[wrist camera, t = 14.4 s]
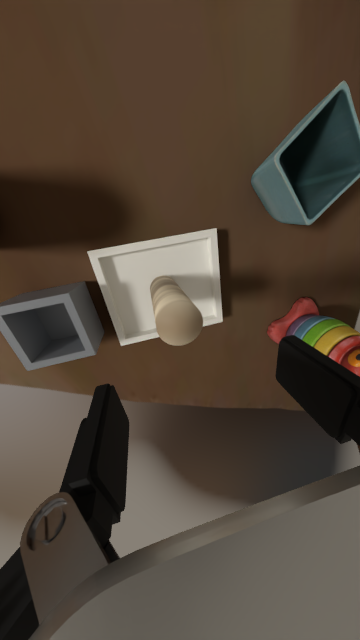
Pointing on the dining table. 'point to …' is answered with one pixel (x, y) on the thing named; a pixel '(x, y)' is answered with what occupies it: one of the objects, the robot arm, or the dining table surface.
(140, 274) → the white tray
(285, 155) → the flower pot
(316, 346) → the stacking bear
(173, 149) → the dining table surface
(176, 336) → the birch peg
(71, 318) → the grey open box
